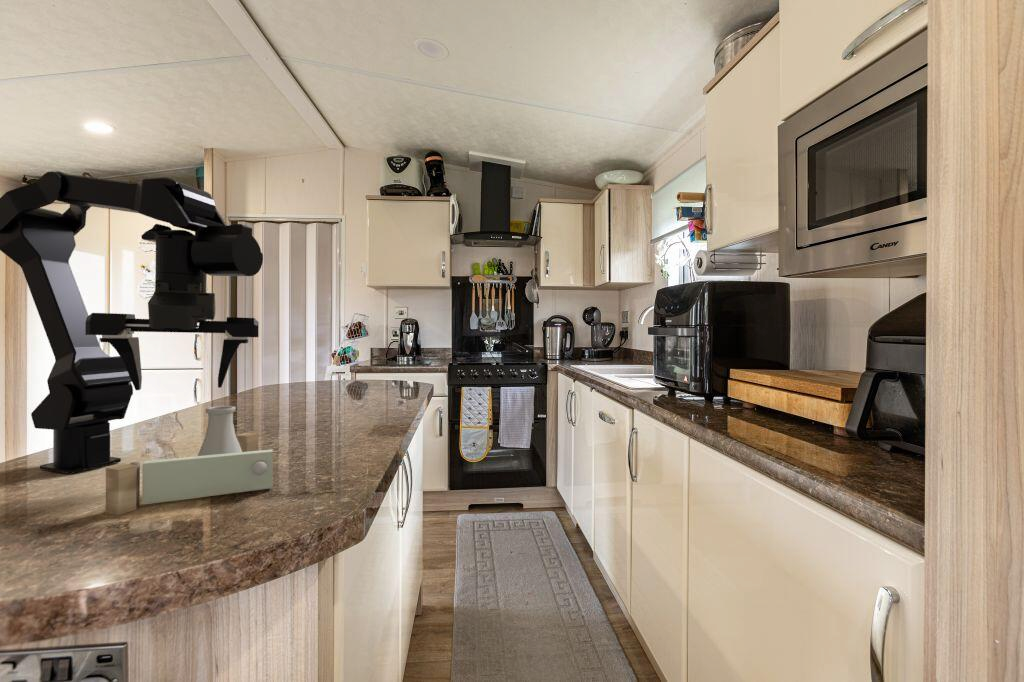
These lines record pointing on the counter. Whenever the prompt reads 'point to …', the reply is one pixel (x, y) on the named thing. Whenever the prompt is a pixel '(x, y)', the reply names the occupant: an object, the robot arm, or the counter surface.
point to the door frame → (127, 480)
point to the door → (206, 475)
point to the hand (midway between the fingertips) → (180, 388)
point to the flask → (220, 432)
